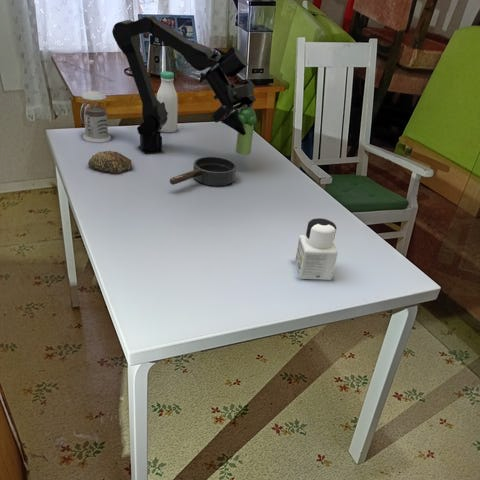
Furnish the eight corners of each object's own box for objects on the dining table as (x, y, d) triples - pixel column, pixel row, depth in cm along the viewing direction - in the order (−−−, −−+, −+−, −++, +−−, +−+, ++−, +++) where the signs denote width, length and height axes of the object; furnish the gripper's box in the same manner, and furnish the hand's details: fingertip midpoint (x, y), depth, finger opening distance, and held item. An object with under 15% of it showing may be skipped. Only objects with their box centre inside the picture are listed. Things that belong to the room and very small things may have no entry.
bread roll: (82, 167, 162) (81, 151, 159) (108, 156, 171) (107, 140, 168) (116, 177, 158) (115, 161, 155) (140, 165, 167) (140, 150, 164)
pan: (205, 189, 158) (205, 175, 155) (186, 172, 166) (186, 158, 163) (242, 183, 163) (243, 170, 161) (222, 168, 172) (223, 154, 169)
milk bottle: (180, 128, 199) (181, 72, 187) (171, 134, 193) (172, 76, 181) (162, 124, 200) (162, 68, 188) (153, 130, 195) (152, 72, 182)
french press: (117, 136, 186) (113, 60, 171) (96, 145, 177) (90, 66, 162) (94, 130, 189) (88, 54, 173) (73, 139, 180) (65, 60, 165)
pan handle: (199, 173, 160) (199, 167, 158) (203, 175, 159) (204, 169, 158) (168, 184, 151) (168, 177, 150) (172, 186, 150) (173, 179, 149)
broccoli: (243, 157, 164) (248, 112, 155) (227, 150, 167) (232, 105, 159) (258, 153, 168) (264, 109, 160) (243, 146, 172) (247, 102, 163)
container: (294, 262, 129) (303, 214, 121) (324, 263, 130) (335, 215, 122) (299, 279, 123) (309, 230, 115) (331, 280, 124) (343, 231, 116)
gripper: (224, 76, 148) (254, 125, 151) (253, 66, 161) (280, 111, 165) (199, 98, 155) (228, 145, 158) (229, 87, 169) (255, 130, 172)
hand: (249, 132), depth 163 cm, fingers closed on broccoli, 6 cm apart
